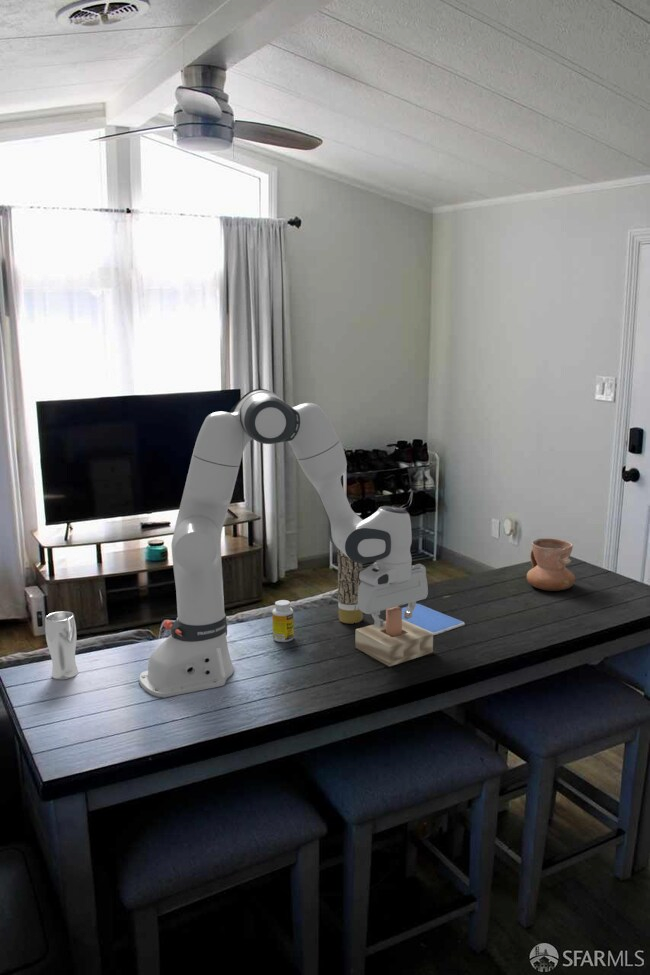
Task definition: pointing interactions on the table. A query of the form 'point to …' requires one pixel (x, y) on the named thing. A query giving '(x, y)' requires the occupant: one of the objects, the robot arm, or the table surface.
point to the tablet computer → (431, 620)
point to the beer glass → (61, 644)
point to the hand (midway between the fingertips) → (393, 622)
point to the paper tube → (348, 589)
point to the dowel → (394, 621)
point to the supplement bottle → (283, 621)
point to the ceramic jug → (550, 565)
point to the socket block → (394, 643)
